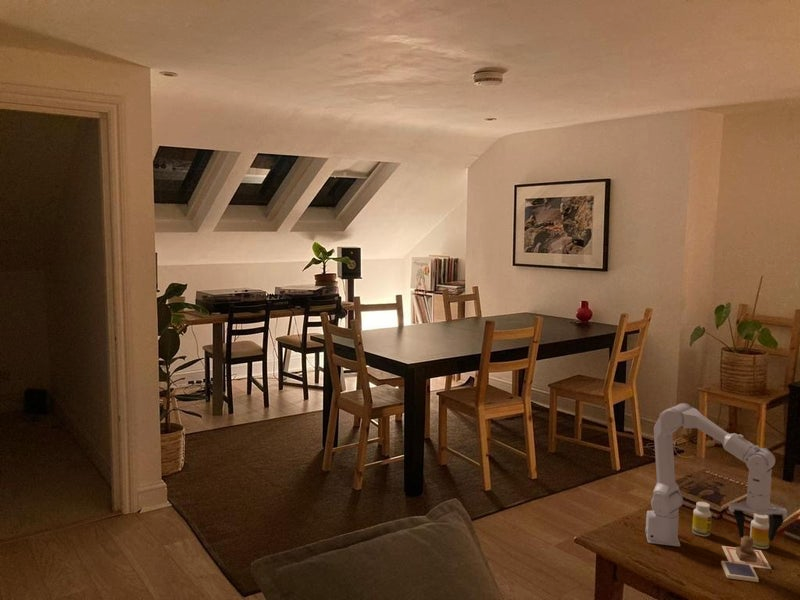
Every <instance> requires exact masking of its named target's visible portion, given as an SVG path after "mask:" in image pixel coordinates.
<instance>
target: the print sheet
mask: <svg viewBox="0 0 800 600" xmlns="http://www.w3.org/2000/svg"><path fill="white" fill-rule="evenodd" d="M736 547H737V546H736ZM736 547H735V546H734V547H733V546H726V545H721V548H722V550H723V552H724V554H725V557H726V559H727V561H728V562H736V563H744V564H751V565H752V567H753V568H758V569H763V570H764V569H766V570H772V567H771V565H770V564H769V562H768V560H767V558H766V557H765V555H764V553H763V552H762V549H760V550H759V549H753V550H754V552H755V553H756V555H757V562H750V561H741V560H739V558H738V556H737V554H736Z"/></svg>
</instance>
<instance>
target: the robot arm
mask: <svg viewBox="0 0 800 600" xmlns="http://www.w3.org/2000/svg"><path fill="white" fill-rule="evenodd" d="M680 427H683V429H698V430H699V431H700V432H702V433H704V434H706V435H708V436H709V437H711V438H713V439H714V440H716V441H718V442H719V443H721V445H722V447H723V449H724V450H725V451H727V452H728V453H729V454H731V455H733V457H735V458H737V459H738V460H740V461H742V462H743V463H745V466H746V467H747V469H748V476H747V477H748V478H747V490H746V491H747V493H746V502H729V503H728V511H729V512H730V513H732V514H733V515H734V519H735V521H736V526H737V529H738V536H739V537H740V538H743V536H745V535H744V534H745V533H744V532H745V531H744V525H745V522H746V521H745V520H746V517H745V514H744V513H748V514H758V515H767V516H768V517H769V518H768V523H769V531H768V538H769V540H770V541H769V542H774V538H775V537H776V533H777V532H778V530H779V528H780V527H781V526H782V525H783V524H784V518H785V519H787V518H788V511H787V509H786V508H784V507H778V506H772V505H770V504H771V493H772V492H771V491H772V489H771V488H772V471H773V470H772V468H773V467H774V466H775V464H776V457H775V455H774V454H773V453H772V451H770V450H769V449H768V448H766V447H765V448H764V447H760V446H759V445H757V444H756V445H755V444H753V443H752V442H751V441H749V440H747V439H745V438H744V437H745V436H744V435H743V434H741V433H740V434H737V433H735V432H733V433H729V432H727V431H726V430H725V429H723V428H722V427H720V426H719V425H717V424H716V423H715V422H714V421H712V420H710V419H709V418H707V417H706V416H704V415H703V414H702V413H701V412H700V411H699V410H698V408H695V407H692V406H691V405H690V404H688V403H684V402H681V403H678V404H676V405H675V406H672V407H669V408H666V409H665V410H663V411H662V412H660V413H659V417H658V419H657V421H656V422H655V424H654V427H653V438H654V440H653V441H654V455H655V470H656V471H655V472H656V485H655V487H654V488H653V492H652V497H651V501H650V506H651V509H652V510H647V511H646V515H645V516H646V518H645V530H644V531H645V535H646V536H645V537H646V540H647V543H648V544H654V545H662V546H663V545H665V546H672V547H681V543H680V540H679V537H678V534H679V533H678V532H679V517H680V516H679V514H680V513H679V510H680V509H679V508H681V507H682V505H683V503H684V498H683V496H682V494H681V491H680V486H679V485H678V484H677V482H676V474H675V457H674V456H675V454H674V438H673V433H675V432H676V431H677V430H678V429H680Z"/></svg>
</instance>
